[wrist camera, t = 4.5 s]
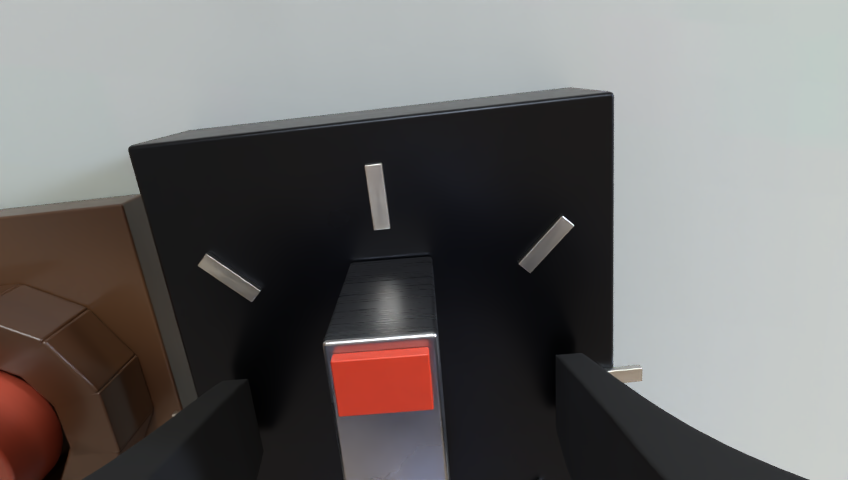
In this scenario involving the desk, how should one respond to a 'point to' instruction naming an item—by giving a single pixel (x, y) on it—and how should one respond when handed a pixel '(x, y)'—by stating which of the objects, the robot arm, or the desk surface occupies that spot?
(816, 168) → the desk surface
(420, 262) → the knob
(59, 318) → the button block
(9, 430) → the button
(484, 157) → the dial base
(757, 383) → the desk surface
